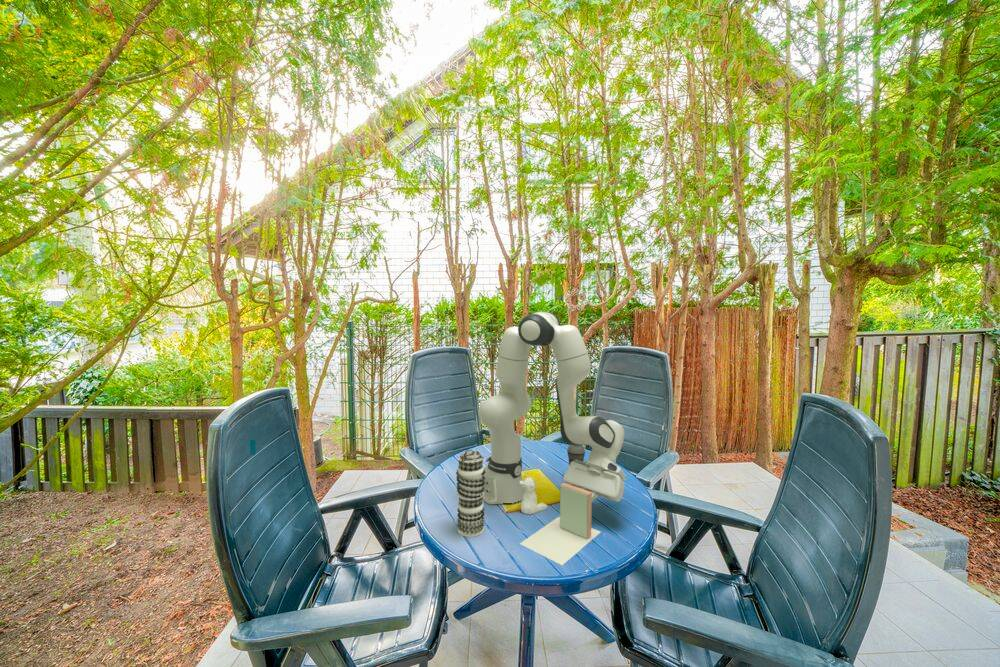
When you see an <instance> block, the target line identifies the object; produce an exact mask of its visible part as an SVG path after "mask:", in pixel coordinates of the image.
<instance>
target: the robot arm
mask: <svg viewBox="0 0 1000 667" xmlns="http://www.w3.org/2000/svg"><path fill="white" fill-rule="evenodd" d="M532 346H539V347H540V346H541V347H548V346H549V347H551V349H552V351H553V354H554V358H555V361H556V366H557V376H556V378H555V391H556V397H557V404H558V410H559V417H560V422H559V423H560V425H559V429H560V430H559V431H560V435H561V438H562V439H563V441H564V442H565V444H568V446H569V445H583V446H589V447H590V448H591V451H590V453H589V454H588V457H587V460H586V461H584V460H583V461H580V460H574V461H572V462H571V463H570V465H569V464H568V468H567V469H566V471H565V473H564V475H563V477H562V479H563V483H566V484H569V485H572V486H575V487H578V488H581V489H584V490H587V491H590V492H592V502H594V501H595V500H596V499H597V497H600V498H604V499H607V500H609V501H613V502H615V503H619V502H620V501H621V500H622V498H623V496H624V492H625V483H624V482H625V481H626V478H627V476H626V474H625V472H624V471H623V469H622V468H621V467H620V466H619V465H617V464H616V462H617V457H618V455H619V454H620V452H621V449H622V447H623V445H624V440H625V429H624V427H623V425H622V424H620V423H619V422H617V421H615V420H612V419H608V420H606V419H604V418H603V417H602V416H595V415H594V416H592V415H591V416H590V415H589V416H587V415H586V416H580V415H579V414H578V413H577V410H576V402H575V395H574V394H575V388H576V387H577V386H578V385H579V384H581V383H582V382H583V381H585V379H586V378H587V377H588V376H589V374H590V372H591V370H592V369H591V359H590V356H589V352H588V348H587V346H586V342H585V341H584V339H583V336H582V333H581V332H580V330H579V329H578V328H577V326H575V325H572V324H565V325H561V322H560V320H559V318H558V317H557V315H556V314H554V313H553V312H550V311H535V312H533V313H530V314H527V315H526V316H523V318H522V319H521V320H520V321H519V323H518V326H515V325H514V326H510V327H507V328H506V329H505V330H504V332H503V335H502V338H501V341H500V345H499V349H498V356H497V363H496V370H495V376H496V378H497V380H498V381H499V383H500V393H498V394H495V395H491V396H490V397H488V398H486V399H485V400H483V402H481V403H480V404H479V407H478V411H477V412H478V417H479V420H480V421H481V423H482V424H483V426H486V428H487V430H488V432H489V438H490V452H491V453H490V456H489V457H487V458H486V459H485V462H486V463H487V462H488V463H487V465H486V466H485V467H483V469H484V470H485V474H484V475H483V476H484V477H485V479H484V482H485V484H484V486H483V487H484V488H485V490H484V496H483V502H485V503H487V505H498V504H500V505H504V504H503V503H512V504H515V503H514V502H516V503H519V502H522V500H523V494H524V493H525V490H524V488H522V486H521V485H520V481H523V476H522V470H523V459H522V456H521V455H522V454H521V453H522V448H521V447H522V440H521V437H520V435H519V434H518V433H517V432H516V430H515V426H514V422H515V420H518V419H520V418H523V417H524V416H525V415H526V414H528V412H529V411H530V410H531V407H532V399H531V396H530V395H529V393H528V390H527V380H526V379H527V372H528V365H529V364H528V363H529V357H530V350H531V348H532ZM518 501H519V502H518Z"/></svg>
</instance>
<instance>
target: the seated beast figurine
mask: <svg viewBox="0 0 1000 667" xmlns="http://www.w3.org/2000/svg"><path fill="white" fill-rule="evenodd" d="M520 485H521V486H522V488H523V489H524V494H523V499H522V500H521V501H520V507H519V508H520V510H521V511H520V512H522V513H523V514H524V515H534V514H536V513H539V512H542V511H544V510H546V509H548V505H547V504H546V503H544V502H540V503H538V501H537V500H538V499H537V498H538V495H537V494H536V491H535V489H536V486H537V485H536V483H535V481H534V480H533V479H532V478H531V477H526V478H524V479H523V480H522V481H520Z"/></svg>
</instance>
